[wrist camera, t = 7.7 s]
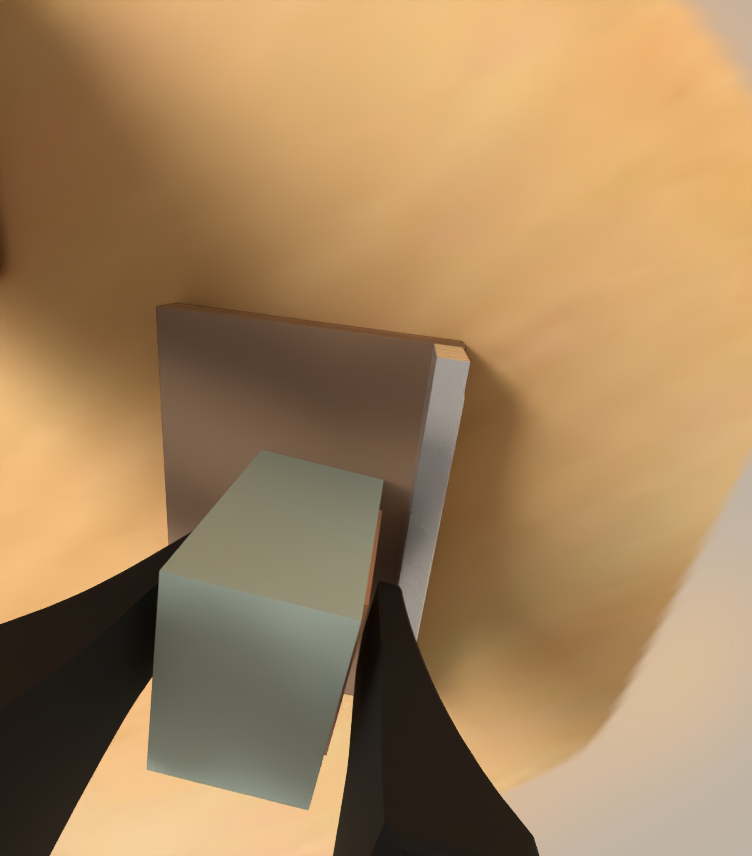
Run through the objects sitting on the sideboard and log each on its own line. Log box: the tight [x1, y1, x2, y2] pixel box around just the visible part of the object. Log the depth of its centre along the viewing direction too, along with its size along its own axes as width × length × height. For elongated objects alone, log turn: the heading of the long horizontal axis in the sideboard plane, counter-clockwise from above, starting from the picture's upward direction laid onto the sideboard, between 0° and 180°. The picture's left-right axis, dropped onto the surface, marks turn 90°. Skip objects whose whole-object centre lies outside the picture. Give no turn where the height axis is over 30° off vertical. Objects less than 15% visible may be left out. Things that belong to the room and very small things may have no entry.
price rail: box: [395, 344, 470, 642], centre depth 14 cm, size 14×1×2 cm, turn 173°
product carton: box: [147, 450, 384, 810], centre depth 12 cm, size 4×6×6 cm
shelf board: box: [156, 303, 466, 696], centre depth 16 cm, size 14×9×1 cm, turn 173°
